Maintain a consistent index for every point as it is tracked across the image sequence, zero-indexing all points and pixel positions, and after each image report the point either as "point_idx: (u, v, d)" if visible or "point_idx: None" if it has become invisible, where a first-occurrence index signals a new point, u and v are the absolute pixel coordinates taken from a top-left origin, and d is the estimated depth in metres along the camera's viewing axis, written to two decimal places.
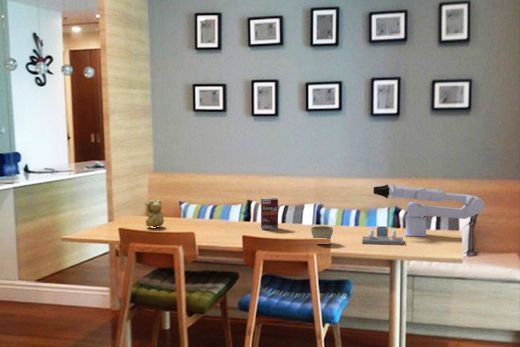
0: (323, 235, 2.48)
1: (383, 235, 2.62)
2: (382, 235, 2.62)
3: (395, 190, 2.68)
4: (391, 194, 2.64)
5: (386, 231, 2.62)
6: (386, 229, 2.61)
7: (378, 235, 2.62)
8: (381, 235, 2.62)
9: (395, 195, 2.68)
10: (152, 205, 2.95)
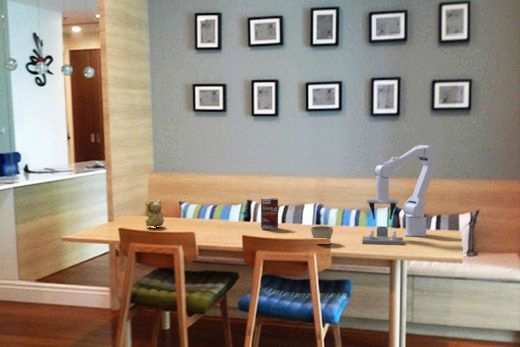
0: (323, 235, 2.48)
1: (383, 235, 2.62)
2: (382, 235, 2.62)
3: (388, 197, 2.61)
4: None
5: (386, 231, 2.62)
6: (386, 229, 2.61)
7: (378, 235, 2.62)
8: (381, 235, 2.62)
9: None
10: (152, 205, 2.95)
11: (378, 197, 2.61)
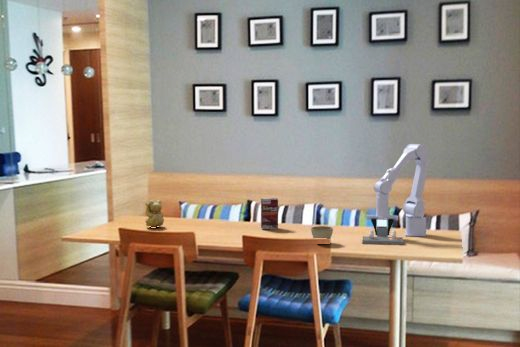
0: (323, 235, 2.48)
1: (383, 235, 2.62)
2: (382, 235, 2.62)
3: (388, 213, 2.62)
4: None
5: (386, 231, 2.62)
6: (386, 229, 2.61)
7: (378, 235, 2.62)
8: (381, 235, 2.62)
9: None
10: (152, 205, 2.95)
11: (378, 213, 2.62)
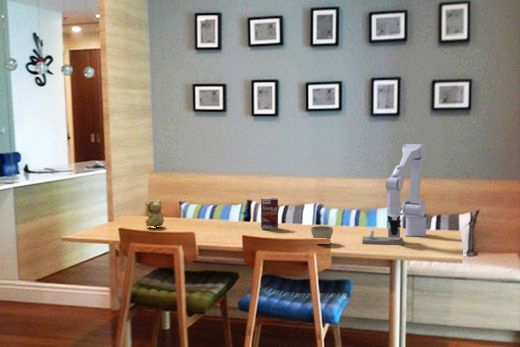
0: (323, 235, 2.48)
1: None
2: None
3: None
4: None
5: None
6: (399, 228, 2.55)
7: (399, 236, 2.51)
8: None
9: None
10: (152, 205, 2.95)
11: (399, 211, 2.50)
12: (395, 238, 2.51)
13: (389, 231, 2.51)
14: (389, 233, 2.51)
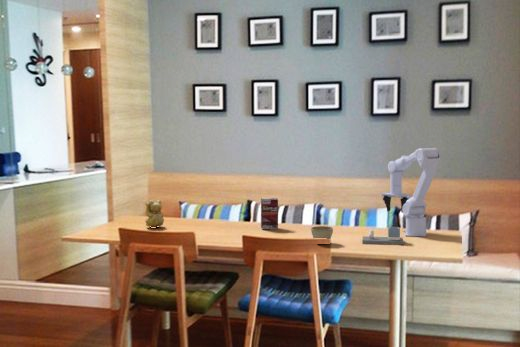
0: (323, 235, 2.48)
1: None
2: None
3: (399, 192, 2.80)
4: (409, 196, 2.78)
5: None
6: (399, 228, 2.55)
7: (399, 236, 2.51)
8: None
9: (401, 191, 2.82)
10: (152, 205, 2.95)
11: (390, 191, 2.82)
12: (395, 238, 2.51)
13: (389, 231, 2.51)
14: (389, 233, 2.51)
